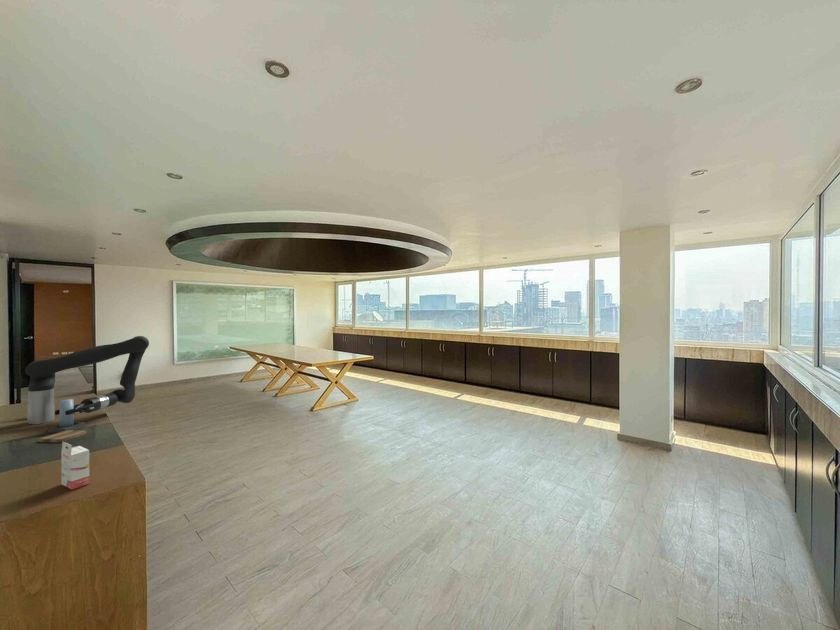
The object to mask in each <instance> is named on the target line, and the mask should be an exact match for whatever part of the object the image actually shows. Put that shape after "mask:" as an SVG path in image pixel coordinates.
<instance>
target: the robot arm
mask: <svg viewBox="0 0 840 630" xmlns="http://www.w3.org/2000/svg"><path fill="white" fill-rule="evenodd" d="M149 345H150V341H149V339H148V338H147V337H146V336H144V335H137V336H133V337H132V338H129V339H126V340H124V341H121V342H116V343H111V344H110V343H109V344H103V345H102V344H101V345H95V346H91V347H86V348H84V349H80V350H78V351H77V350H76V351H74V352H70V353H68V354H66V355H62V356H59V357H54V358H48V359H46V358H41V359H37V360H35V361H31V362H30V363H29V364H28V365H27V366H26V368H25V374H26V375H27V376H28V377H30V378H29V379H30V380H29V385H28V386H27V388H28V389H27V392H28V398H27V399H28V403H27V405H26V423H27V424H29V425H39V424H40V425H41V424H46V423H50V422H54V421H55V416H56V415H59V409H55V383H56V373H58V372H59V373H60V372H62V371H65V370H69V369H70V370H71V369H76V368H81V367H86V366H90V365H93V364H98V363H101V362H105V361H108V360H111V359H114V358H117V357H119V356H124V355H128V358H127V362H126V364H125V367H124V368H123V371H122V374H121V377H120V380H119V385H120V386H121V387H123V388H122V389H121V388H120V389H119V388H118V389H115V390H113V391H112V390H111V392H108V393H106V394H101V395H95V396H92V397H88V398H84V399H82V401H81V402H79V403H76V404H74V409H70V410H67V411H65V415H70V414H73V413H74V414H83V413H85V414H86V413H87V414H90V413H92V412H96V411H100V410H103V409H105V408H108V407H111V406H114V405H116V404H117V403H118V402H119V403H122V404H130V403H131V402H133V400H134V399H135V397H136V381H137V378H138V374H139V371H140V366H141V361H142V359H143V356H144V354H145V352H146V350H147V349H148V347H149Z"/></svg>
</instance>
